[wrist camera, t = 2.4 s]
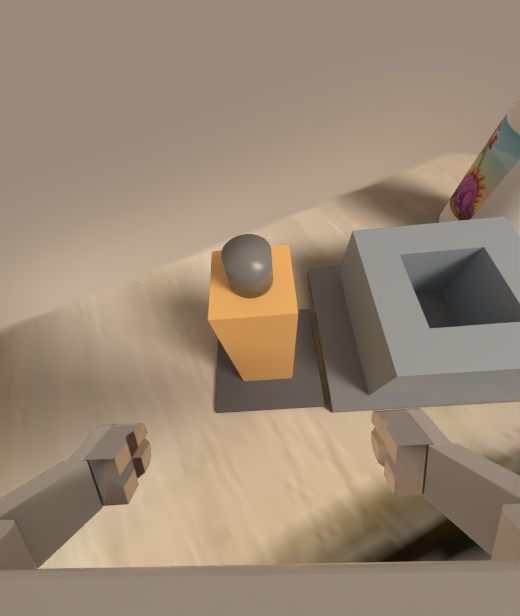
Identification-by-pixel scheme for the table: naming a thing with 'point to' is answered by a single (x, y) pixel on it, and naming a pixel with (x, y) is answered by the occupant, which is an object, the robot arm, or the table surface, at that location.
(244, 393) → the mat
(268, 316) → the plug
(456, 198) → the milk bottle
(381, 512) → the table surface
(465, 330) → the housing
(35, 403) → the table surface
